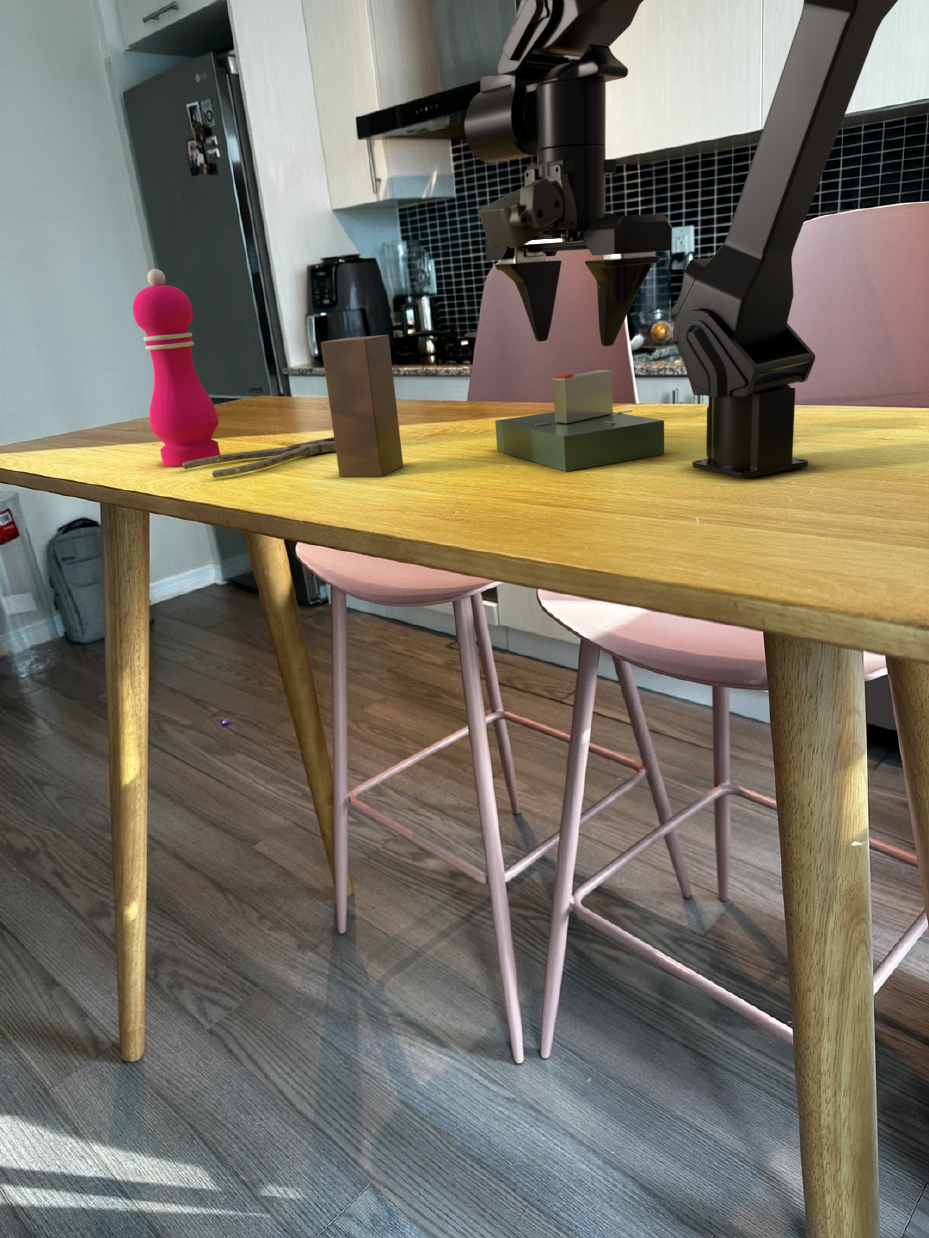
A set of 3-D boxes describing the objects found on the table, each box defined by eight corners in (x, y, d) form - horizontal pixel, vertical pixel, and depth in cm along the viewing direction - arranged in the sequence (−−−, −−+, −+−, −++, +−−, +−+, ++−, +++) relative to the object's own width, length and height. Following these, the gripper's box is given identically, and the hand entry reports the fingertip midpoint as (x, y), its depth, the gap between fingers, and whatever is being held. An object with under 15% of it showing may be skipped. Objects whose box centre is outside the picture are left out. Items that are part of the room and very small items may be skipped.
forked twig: (167, 465, 91) (317, 431, 105) (168, 473, 91) (319, 438, 105) (219, 471, 85) (372, 434, 98) (221, 480, 85) (373, 442, 99)
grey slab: (601, 413, 84) (599, 367, 83) (613, 414, 83) (611, 367, 82) (554, 423, 81) (552, 375, 80) (566, 424, 80) (564, 375, 78)
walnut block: (403, 466, 84) (388, 334, 80) (382, 476, 80) (365, 339, 76) (362, 466, 86) (345, 338, 82) (339, 477, 82) (320, 342, 78)
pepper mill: (189, 468, 94) (149, 267, 87) (144, 466, 98) (103, 273, 91) (238, 455, 99) (205, 265, 93) (194, 454, 103) (159, 271, 96)
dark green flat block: (675, 452, 79) (674, 416, 78) (565, 471, 75) (563, 434, 74) (594, 435, 91) (593, 404, 90) (497, 451, 87) (494, 419, 86)
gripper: (431, 162, 77) (443, 347, 83) (567, 132, 63) (570, 359, 69) (532, 162, 83) (536, 336, 89) (679, 134, 68) (673, 344, 74)
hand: (573, 343), depth 80 cm, fingers open, 9 cm apart
